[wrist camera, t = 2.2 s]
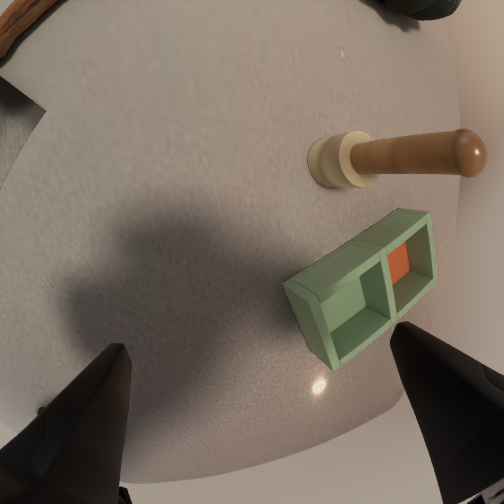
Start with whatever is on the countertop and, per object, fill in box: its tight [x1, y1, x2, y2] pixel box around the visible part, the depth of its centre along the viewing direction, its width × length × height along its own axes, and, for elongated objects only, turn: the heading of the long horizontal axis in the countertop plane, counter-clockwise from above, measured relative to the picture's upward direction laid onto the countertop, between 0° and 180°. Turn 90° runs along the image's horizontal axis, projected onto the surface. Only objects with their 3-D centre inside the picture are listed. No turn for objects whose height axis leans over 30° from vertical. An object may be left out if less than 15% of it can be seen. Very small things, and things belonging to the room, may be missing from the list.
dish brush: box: [308, 129, 487, 188], centre depth 14 cm, size 4×4×13 cm
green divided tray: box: [282, 208, 437, 372], centre depth 22 cm, size 14×8×4 cm, turn 115°
